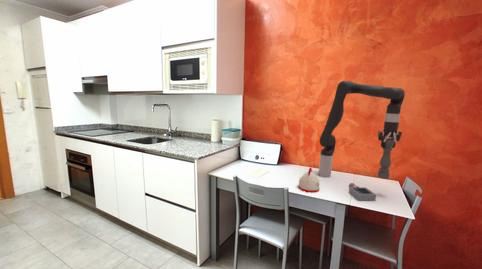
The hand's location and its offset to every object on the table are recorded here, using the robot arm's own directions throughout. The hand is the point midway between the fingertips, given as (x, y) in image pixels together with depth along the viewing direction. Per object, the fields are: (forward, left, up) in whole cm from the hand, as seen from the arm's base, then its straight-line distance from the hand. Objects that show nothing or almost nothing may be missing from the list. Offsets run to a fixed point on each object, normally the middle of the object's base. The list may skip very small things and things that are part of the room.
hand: (387, 147), depth 139 cm
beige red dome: (-11, -44, -33) cm, 56 cm away
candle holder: (0, 0, -20) cm, 20 cm away
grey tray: (-1, -14, -33) cm, 35 cm away
